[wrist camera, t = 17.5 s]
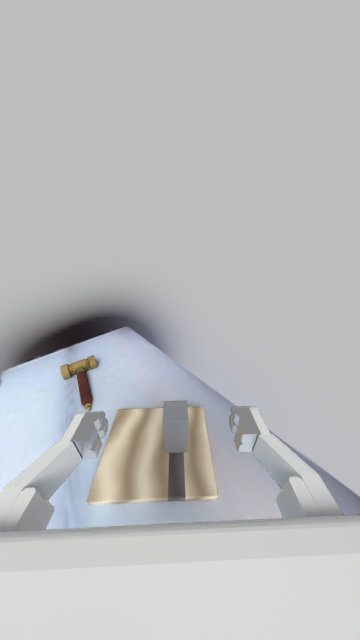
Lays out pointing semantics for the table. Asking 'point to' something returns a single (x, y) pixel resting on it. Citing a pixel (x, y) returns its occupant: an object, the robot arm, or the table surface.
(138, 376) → the table surface
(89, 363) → the gavel
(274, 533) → the robot arm
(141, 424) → the board
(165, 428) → the tall grey pillar
